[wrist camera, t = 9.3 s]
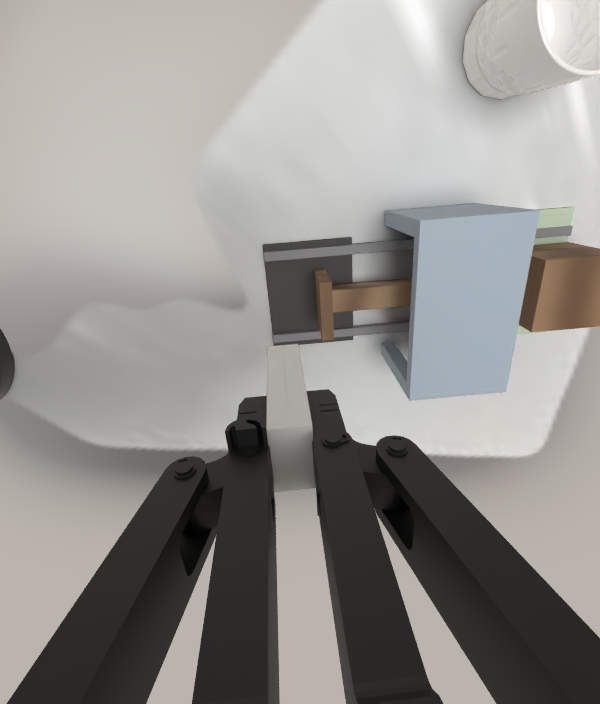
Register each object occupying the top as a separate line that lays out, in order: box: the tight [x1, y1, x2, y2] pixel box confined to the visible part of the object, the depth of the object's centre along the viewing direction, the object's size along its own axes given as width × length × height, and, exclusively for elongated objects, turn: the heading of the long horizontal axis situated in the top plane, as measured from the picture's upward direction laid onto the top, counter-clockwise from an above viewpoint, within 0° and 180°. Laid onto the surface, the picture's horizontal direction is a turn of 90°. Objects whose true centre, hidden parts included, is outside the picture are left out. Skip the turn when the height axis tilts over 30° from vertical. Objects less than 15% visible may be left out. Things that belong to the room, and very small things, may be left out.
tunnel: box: [263, 203, 573, 401], centre depth 31 cm, size 28×14×9 cm, turn 94°
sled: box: [314, 242, 600, 341], centre depth 32 cm, size 24×6×6 cm, turn 94°
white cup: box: [463, 0, 600, 99], centre depth 23 cm, size 8×8×10 cm
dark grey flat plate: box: [263, 237, 353, 346], centre depth 35 cm, size 8×10×1 cm
